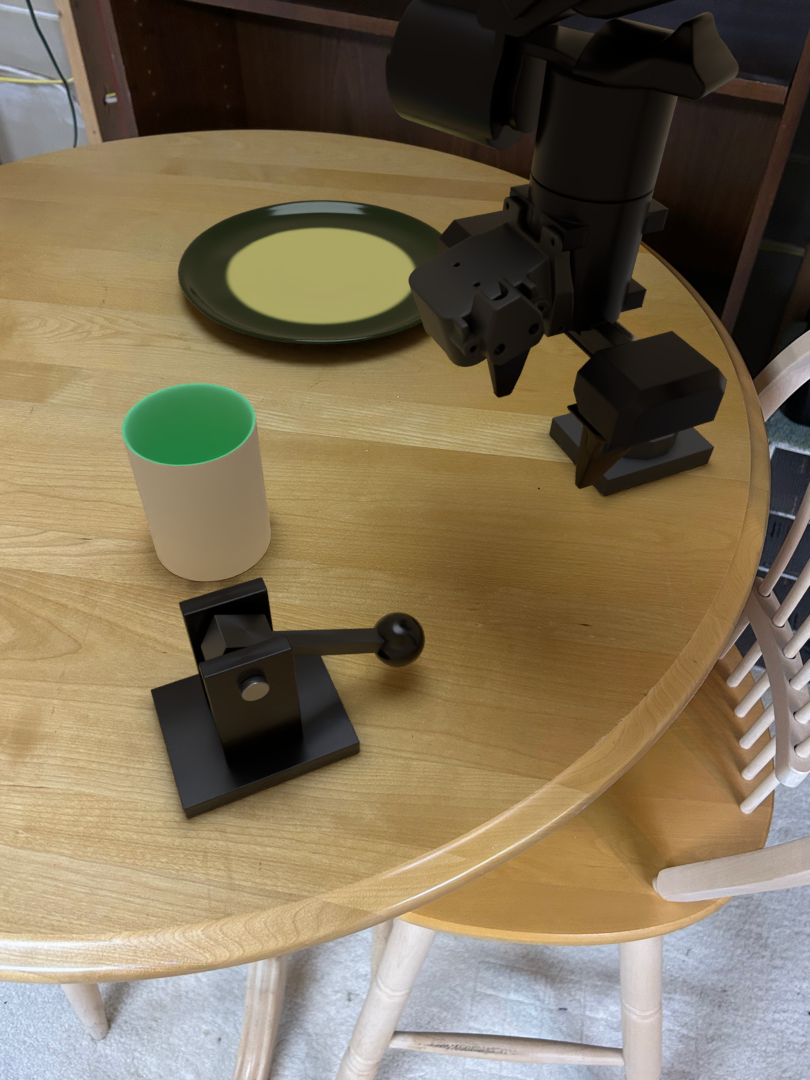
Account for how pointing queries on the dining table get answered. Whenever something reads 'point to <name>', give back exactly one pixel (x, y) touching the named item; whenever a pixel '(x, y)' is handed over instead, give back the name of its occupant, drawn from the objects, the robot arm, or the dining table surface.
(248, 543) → the mug
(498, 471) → the dining table surface
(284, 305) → the plate
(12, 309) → the dining table surface
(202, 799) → the switch
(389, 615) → the lever
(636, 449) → the button box
